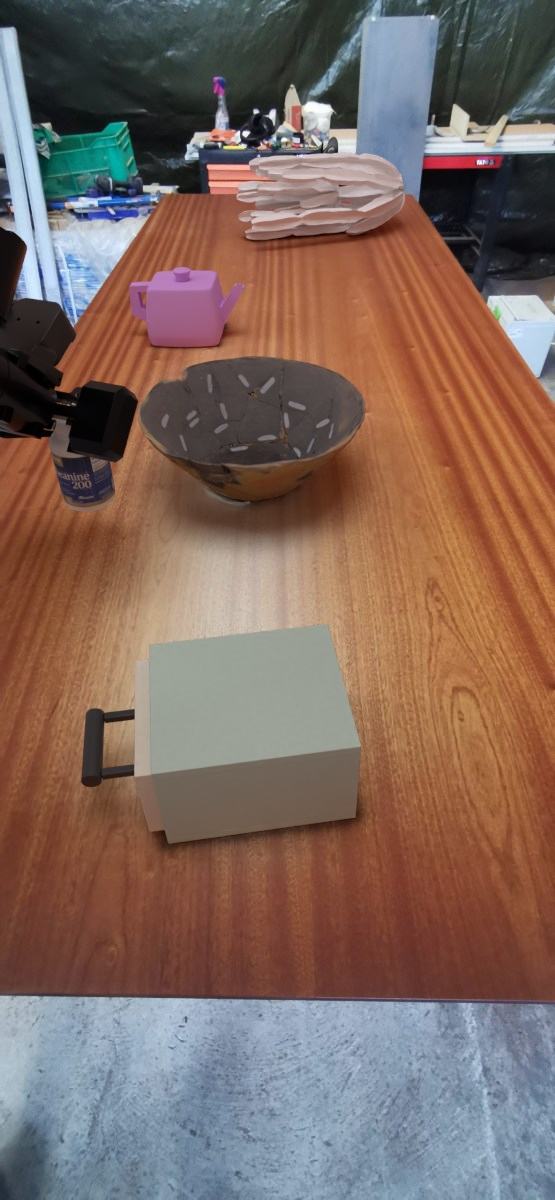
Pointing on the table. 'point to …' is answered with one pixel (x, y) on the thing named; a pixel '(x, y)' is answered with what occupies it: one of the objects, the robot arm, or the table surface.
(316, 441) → the bowl
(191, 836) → the cabinet
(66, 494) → the pill bottle
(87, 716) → the drawer
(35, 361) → the robot arm
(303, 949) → the table surface
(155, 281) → the teapot
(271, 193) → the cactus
